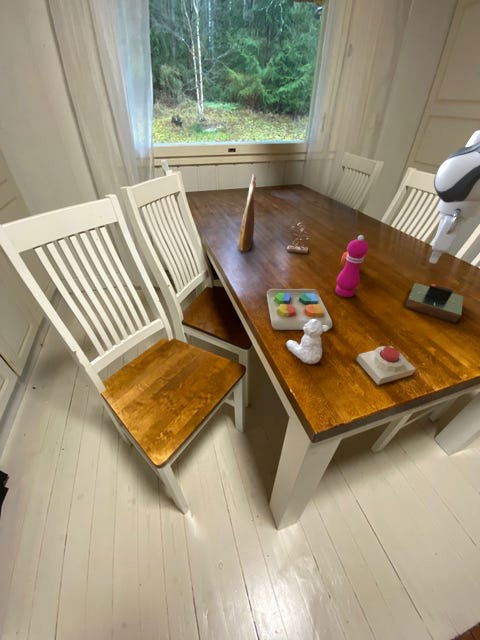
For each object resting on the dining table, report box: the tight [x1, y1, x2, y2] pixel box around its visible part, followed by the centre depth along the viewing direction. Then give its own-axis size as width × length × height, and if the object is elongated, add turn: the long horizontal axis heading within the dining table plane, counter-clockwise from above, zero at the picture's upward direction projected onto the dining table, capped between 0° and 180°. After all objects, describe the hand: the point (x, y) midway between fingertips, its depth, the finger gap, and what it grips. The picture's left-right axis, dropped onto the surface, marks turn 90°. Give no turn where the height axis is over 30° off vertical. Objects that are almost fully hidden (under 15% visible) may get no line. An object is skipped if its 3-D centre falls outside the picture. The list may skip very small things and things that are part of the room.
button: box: [381, 346, 401, 363], centre depth 64 cm, size 4×4×2 cm
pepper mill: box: [335, 234, 370, 298], centre depth 87 cm, size 7×7×20 cm
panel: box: [404, 282, 464, 323], centre depth 87 cm, size 14×12×3 cm
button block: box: [356, 345, 417, 386], centre depth 66 cm, size 10×8×4 cm
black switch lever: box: [426, 283, 454, 302], centre depth 85 cm, size 6×2×4 cm, turn 55°
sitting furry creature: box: [285, 319, 329, 365], centre depth 66 cm, size 10×9×12 cm
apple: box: [340, 250, 365, 269], centre depth 104 cm, size 8×8×8 cm
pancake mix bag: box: [238, 172, 257, 253], centre depth 114 cm, size 7×19×28 cm, turn 171°
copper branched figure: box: [286, 222, 310, 254], centre depth 115 cm, size 9×4×12 cm, turn 77°
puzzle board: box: [266, 288, 333, 331], centre depth 83 cm, size 18×19×4 cm
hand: (434, 255), depth 77 cm, fingers open, 8 cm apart
